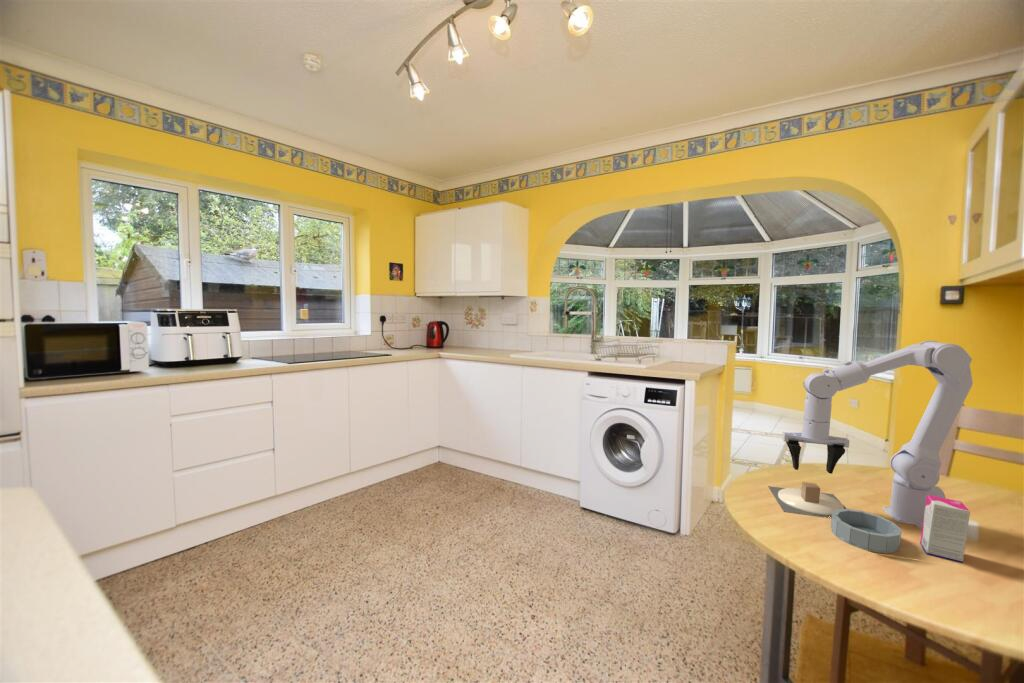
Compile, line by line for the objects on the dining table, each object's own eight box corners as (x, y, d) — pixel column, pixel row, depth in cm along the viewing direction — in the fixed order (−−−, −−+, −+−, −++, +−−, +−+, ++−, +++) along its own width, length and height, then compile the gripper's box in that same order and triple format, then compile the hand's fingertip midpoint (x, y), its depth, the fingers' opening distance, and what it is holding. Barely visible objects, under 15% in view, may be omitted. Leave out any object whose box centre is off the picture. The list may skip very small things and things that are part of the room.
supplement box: (964, 564, 91) (971, 511, 90) (925, 555, 94) (931, 503, 93) (955, 551, 96) (961, 500, 95) (919, 542, 99) (924, 493, 98)
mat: (833, 495, 123) (833, 494, 123) (858, 523, 107) (858, 521, 107) (767, 487, 127) (768, 486, 127) (783, 512, 112) (783, 511, 112)
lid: (830, 495, 122) (832, 478, 122) (853, 519, 108) (855, 501, 108) (771, 487, 126) (773, 471, 126) (786, 510, 113) (787, 492, 112)
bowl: (882, 530, 104) (884, 513, 104) (911, 558, 93) (913, 540, 93) (823, 521, 108) (824, 505, 108) (843, 548, 97) (845, 530, 96)
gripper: (843, 418, 117) (838, 468, 118) (780, 413, 121) (776, 461, 122) (854, 425, 110) (849, 478, 111) (788, 420, 114) (784, 470, 116)
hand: (812, 470), depth 117 cm, fingers open, 7 cm apart
